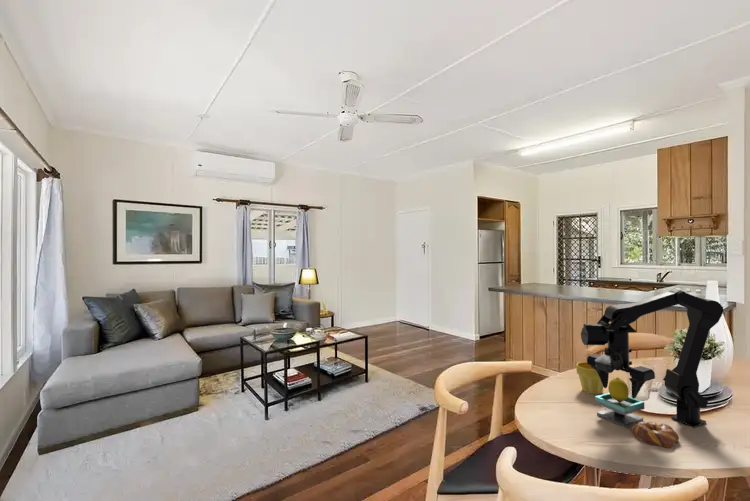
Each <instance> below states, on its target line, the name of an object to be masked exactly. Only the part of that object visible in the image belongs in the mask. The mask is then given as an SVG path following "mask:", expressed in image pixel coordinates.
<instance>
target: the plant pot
mask: <svg viewBox="0 0 750 501" xmlns="http://www.w3.org/2000/svg"><path fill="white" fill-rule="evenodd" d="M575 367H576V374H577V375H578V378H579V381H580V385H581V389H582V391H584V392H585V393H588V394H592V395H602V394H603V392H604V387H603V384H602V382H601V379H600V377H599V375H598V373H597V371H596V370H595V369H594V368H592V367H591V365H589V364H587V361H579V362H577V363H576V366H575Z"/></svg>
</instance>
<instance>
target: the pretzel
mask: <svg viewBox="0 0 750 501" xmlns="http://www.w3.org/2000/svg"><path fill="white" fill-rule="evenodd" d="M631 432H632V433H633V435H634V436H635V437H636V438H638V439H639V440H640V441H642V442H644V443H645V444H648V445H652V446H660V447H663V448H672V447H674V446H675V444H676V442H677V443H678V441H679V440H680V436H679V434H678V433H677V431H675V430H674V428H673V427H672V426H670V425H668V424H666V423H660V424H658V423H656V422H653V421H648V422H647V421H642V422H637V423H636V424H633V425H632V428H631Z"/></svg>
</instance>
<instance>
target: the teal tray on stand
mask: <svg viewBox="0 0 750 501" xmlns="http://www.w3.org/2000/svg"><path fill="white" fill-rule="evenodd" d="M594 396H595V397H594V401H595V402H594V404H596V405H599V406H601V407H604V408H606V409H603V410H600V411H597V412H596V415H597V416H598V417H601V418H603V419H605V420H607V421H609V422H612V423H614V424H616V425H618V426H621V427H622V428H628V427H630V426H634V425H635V424H636V423H637V422H644V417H641V416H639V415H637V414H634V413H636V412H641V411H642V410H645V401H643V400H640V399H637V398H634V399H633V398H632V396H630V395H629V396H628V398H627V399H626V400H624V401H622V402H621V403H619V402H618V401H617V400H615V399H613V398H612V397H611V395H610V393H609V392H607V393H606V392H605V393H601V394H598V395H594Z"/></svg>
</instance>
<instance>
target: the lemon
mask: <svg viewBox="0 0 750 501" xmlns="http://www.w3.org/2000/svg"><path fill="white" fill-rule="evenodd" d="M607 388H608V393H610V395H611V397H612V398H613V399H615V400H617V401H618V402H619V403H621V402H622V401H624V400H626V399H627V398H628V396H629V397H630V391H629V386H628V384H627V383H626V381H624V380H623V379H622V378H620V377H615V378H613V379H611V380H610V381H609V382H608V386H607Z"/></svg>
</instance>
